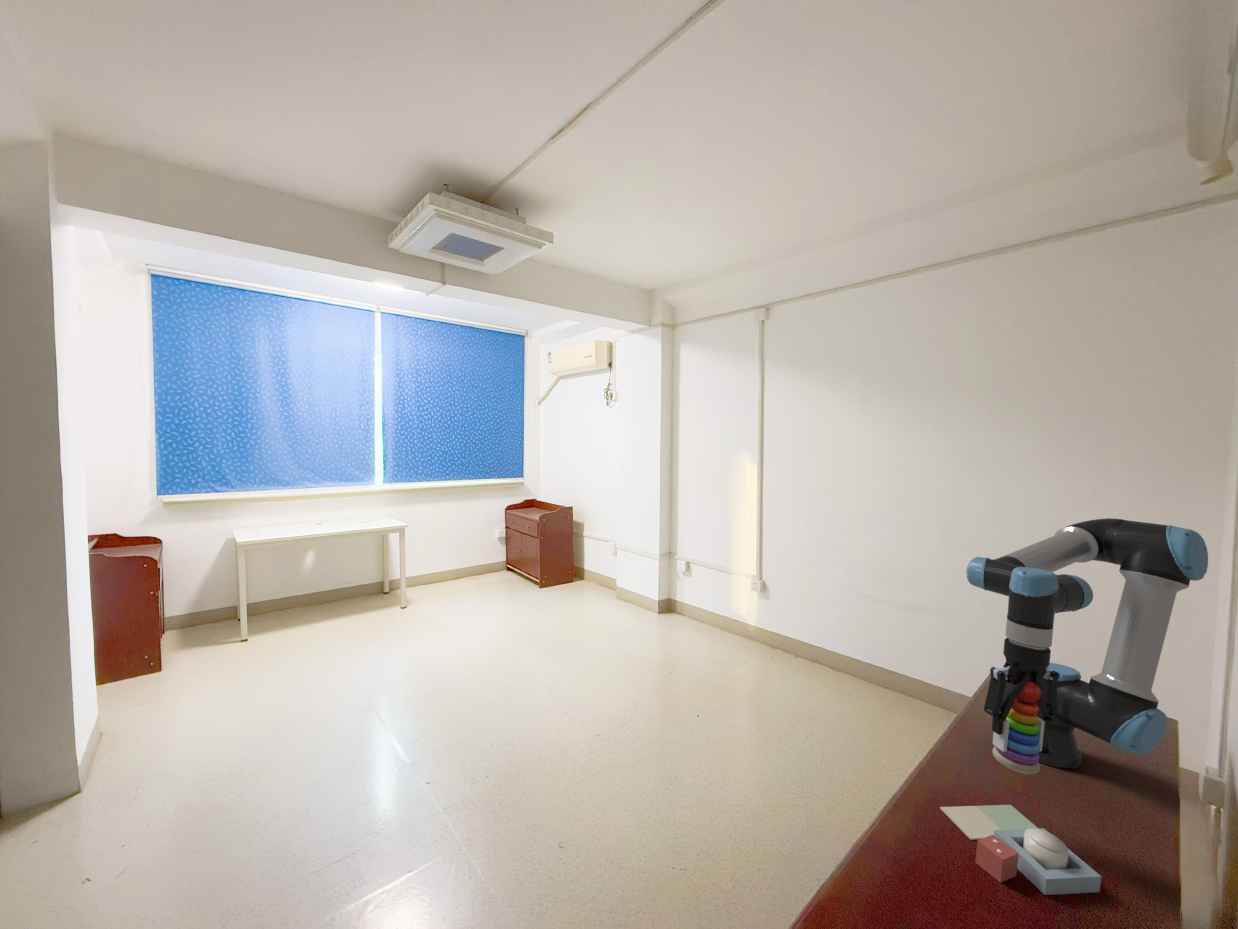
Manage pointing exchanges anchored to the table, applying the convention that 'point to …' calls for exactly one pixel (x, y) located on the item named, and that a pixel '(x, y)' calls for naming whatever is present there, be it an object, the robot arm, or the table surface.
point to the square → (971, 821)
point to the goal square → (1006, 817)
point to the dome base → (1052, 881)
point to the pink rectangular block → (997, 858)
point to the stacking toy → (1022, 733)
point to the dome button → (1045, 849)
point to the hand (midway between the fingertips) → (1016, 747)
